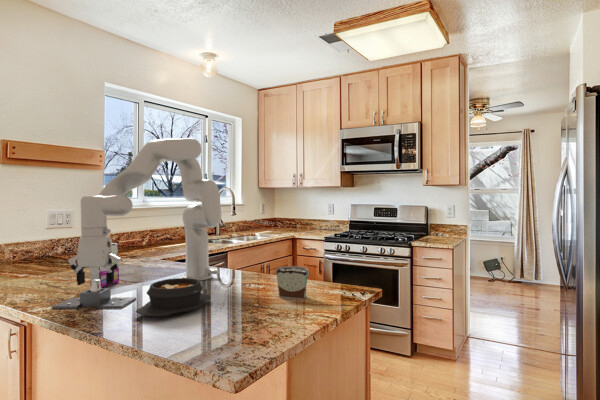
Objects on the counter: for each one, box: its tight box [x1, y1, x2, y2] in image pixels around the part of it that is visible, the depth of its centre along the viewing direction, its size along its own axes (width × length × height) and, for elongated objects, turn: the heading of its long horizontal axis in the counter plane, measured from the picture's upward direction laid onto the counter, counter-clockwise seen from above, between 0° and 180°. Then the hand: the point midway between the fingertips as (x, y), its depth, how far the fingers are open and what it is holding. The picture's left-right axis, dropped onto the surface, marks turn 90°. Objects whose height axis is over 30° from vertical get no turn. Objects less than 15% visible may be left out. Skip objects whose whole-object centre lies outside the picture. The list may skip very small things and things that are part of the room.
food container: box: [274, 265, 310, 300], centre depth 134 cm, size 12×6×10 cm, turn 71°
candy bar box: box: [89, 242, 120, 288], centre depth 152 cm, size 11×5×16 cm, turn 168°
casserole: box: [135, 277, 212, 318], centre depth 119 cm, size 25×19×8 cm
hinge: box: [51, 287, 137, 310], centre depth 126 cm, size 23×10×4 cm, turn 89°
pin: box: [89, 279, 101, 292], centre depth 126 cm, size 3×3×8 cm
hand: (95, 284), depth 126 cm, fingers open, 9 cm apart
